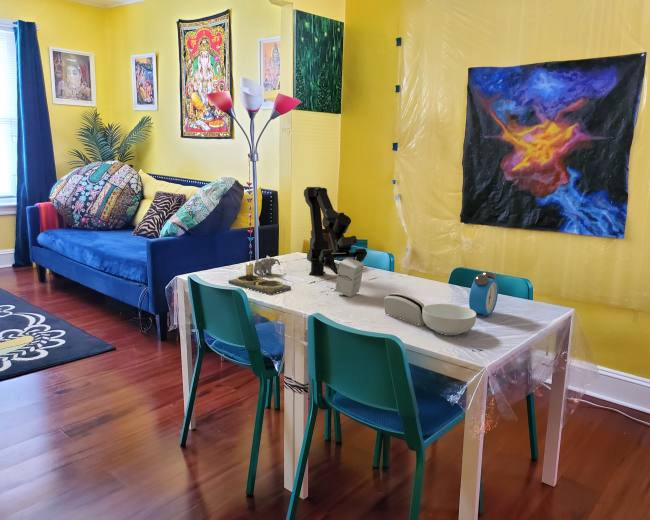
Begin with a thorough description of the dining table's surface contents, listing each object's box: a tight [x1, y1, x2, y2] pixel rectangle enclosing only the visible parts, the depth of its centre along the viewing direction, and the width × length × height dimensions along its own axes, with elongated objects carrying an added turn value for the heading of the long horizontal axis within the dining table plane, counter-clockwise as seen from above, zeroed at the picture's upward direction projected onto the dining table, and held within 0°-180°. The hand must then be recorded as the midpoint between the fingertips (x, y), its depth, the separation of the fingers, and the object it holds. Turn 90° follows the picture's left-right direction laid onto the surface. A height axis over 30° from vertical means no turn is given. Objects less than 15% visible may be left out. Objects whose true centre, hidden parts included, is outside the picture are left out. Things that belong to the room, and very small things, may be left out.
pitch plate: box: [228, 262, 292, 295], centre depth 224 cm, size 24×12×8 cm, turn 50°
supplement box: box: [334, 258, 365, 298], centre depth 215 cm, size 7×7×13 cm
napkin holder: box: [383, 292, 426, 326], centre depth 188 cm, size 17×5×10 cm, turn 42°
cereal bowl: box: [422, 303, 477, 336], centre depth 177 cm, size 17×17×7 cm
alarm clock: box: [468, 271, 499, 318], centre depth 196 cm, size 13×6×15 cm, turn 144°
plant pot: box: [310, 228, 336, 260], centre depth 268 cm, size 15×15×16 cm
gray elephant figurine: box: [253, 255, 281, 277], centre depth 246 cm, size 9×12×8 cm
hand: (348, 273), depth 215 cm, fingers closed on supplement box, 9 cm apart
